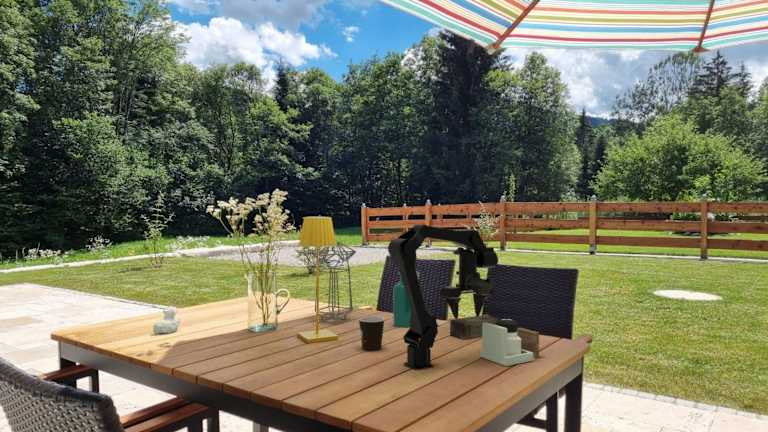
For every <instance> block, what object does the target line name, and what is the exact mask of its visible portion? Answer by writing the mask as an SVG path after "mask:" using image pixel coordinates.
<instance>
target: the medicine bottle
mask: <svg viewBox="0 0 768 432" xmlns="http://www.w3.org/2000/svg"><path fill="white" fill-rule="evenodd" d="M498 326H501V327H504V328H507V357H508V356H513V355H518V354H521V338H520V337H519V336H518V335H517V328H518V322H517V321H516V320H514V319H509V318H507V319H505V318H504V319H500V320H498Z"/></svg>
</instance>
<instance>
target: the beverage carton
mask: <svg viewBox="0 0 768 432" xmlns="http://www.w3.org/2000/svg"><path fill="white" fill-rule="evenodd" d="M498 321H499V318H498V317H495V316H490V315H489V314H482V315H479V316H476V315H475V316H468V317H461V318H458V319H455V318H453V319H450V321H449V322H450V323H449V335H450V336H451V337H454V338H457V339H460V340H463V341H464V340H469V339H474V338H479V337H482V323H485V322H487V323H490V324H494V325H497V326H498Z"/></svg>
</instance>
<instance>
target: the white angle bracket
mask: <svg viewBox="0 0 768 432" xmlns="http://www.w3.org/2000/svg"><path fill="white" fill-rule="evenodd" d="M481 337H482V344H481V345H482V348H480V351H479V352H480V354H479V355H480V357H481V358H483V359H486V360H488V361H491V362H494V363H496V364H499V365H501V366H505V367H510V366H513V365H519V364H523V363H527V362H532V361H534V358H533V352H529V351H526V350H523V349H521V354H518V355H513V356H508V357H507V328H504V327H501V326H497V325H494V324H490V323H487V322H485V323H482V336H481Z"/></svg>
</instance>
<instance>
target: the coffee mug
mask: <svg viewBox="0 0 768 432" xmlns="http://www.w3.org/2000/svg"><path fill="white" fill-rule="evenodd" d="M358 321H359V332H360V341H361V347H362V350H363V351H366V352H377V351H378V352H379V351H380V350H382V345H383V344H382V342H383V334H384V326H385V318H384V317H379V316H378V317H377V316H363V317H361V318H359V319H358Z"/></svg>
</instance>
